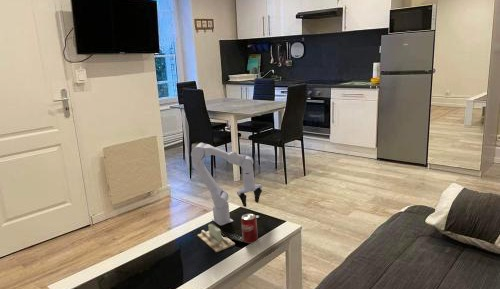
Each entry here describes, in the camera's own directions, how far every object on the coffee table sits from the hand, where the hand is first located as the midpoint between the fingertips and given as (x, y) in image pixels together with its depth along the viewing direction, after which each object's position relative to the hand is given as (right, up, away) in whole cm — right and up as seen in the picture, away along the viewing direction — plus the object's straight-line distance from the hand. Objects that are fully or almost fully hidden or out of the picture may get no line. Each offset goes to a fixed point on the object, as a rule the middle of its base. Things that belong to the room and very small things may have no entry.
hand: (250, 204), depth 193 cm
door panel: (-17, -14, -16) cm, 27 cm away
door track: (-17, -15, -16) cm, 27 cm away
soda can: (0, -14, -18) cm, 23 cm away
